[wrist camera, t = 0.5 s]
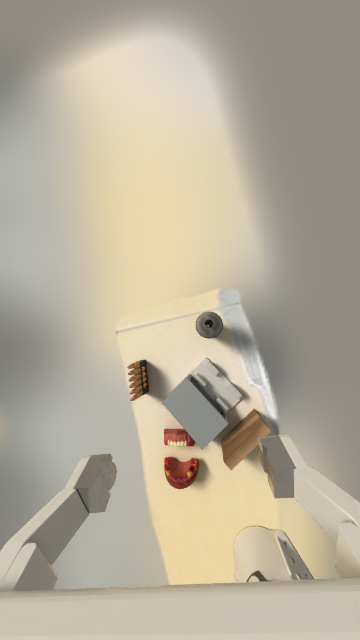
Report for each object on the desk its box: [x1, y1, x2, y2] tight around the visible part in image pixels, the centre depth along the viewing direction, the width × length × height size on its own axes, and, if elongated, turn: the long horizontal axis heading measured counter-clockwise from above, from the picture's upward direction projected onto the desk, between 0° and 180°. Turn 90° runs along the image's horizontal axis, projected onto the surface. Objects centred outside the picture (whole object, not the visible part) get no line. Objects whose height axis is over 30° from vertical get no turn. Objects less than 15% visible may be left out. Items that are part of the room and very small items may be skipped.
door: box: [221, 409, 272, 470], centre depth 49 cm, size 4×14×10 cm, turn 134°
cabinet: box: [162, 358, 244, 449], centre depth 53 cm, size 16×18×8 cm
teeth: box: [164, 429, 199, 489], centre depth 53 cm, size 10×8×15 cm
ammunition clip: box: [127, 360, 149, 401], centre depth 55 cm, size 11×2×12 cm, turn 8°
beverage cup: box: [196, 312, 223, 339], centre depth 50 cm, size 7×7×20 cm
